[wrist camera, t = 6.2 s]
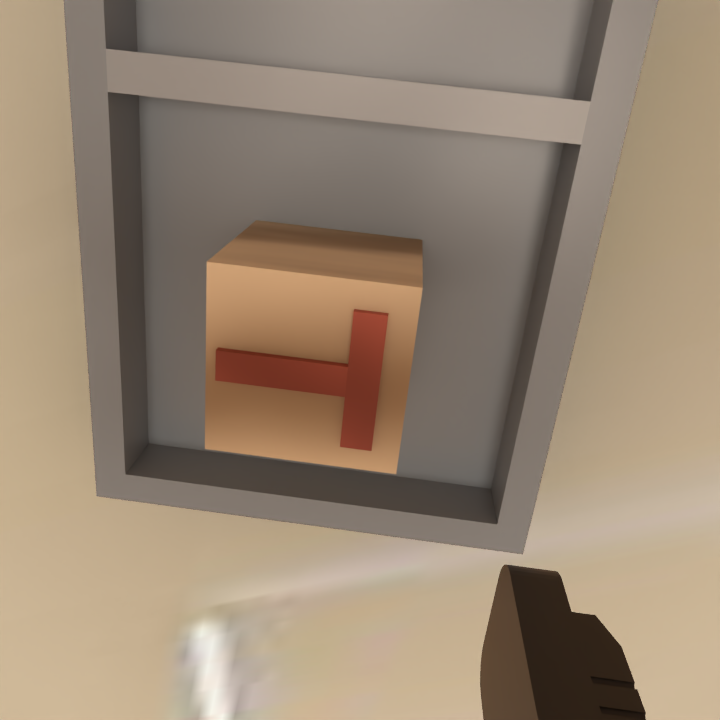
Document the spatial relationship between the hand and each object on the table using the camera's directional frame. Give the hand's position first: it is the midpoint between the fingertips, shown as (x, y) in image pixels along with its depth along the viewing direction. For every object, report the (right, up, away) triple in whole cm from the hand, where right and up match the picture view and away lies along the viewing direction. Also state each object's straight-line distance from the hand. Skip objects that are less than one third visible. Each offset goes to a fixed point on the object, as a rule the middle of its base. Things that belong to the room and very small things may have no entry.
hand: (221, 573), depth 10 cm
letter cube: (+1, +5, +11) cm, 12 cm away
